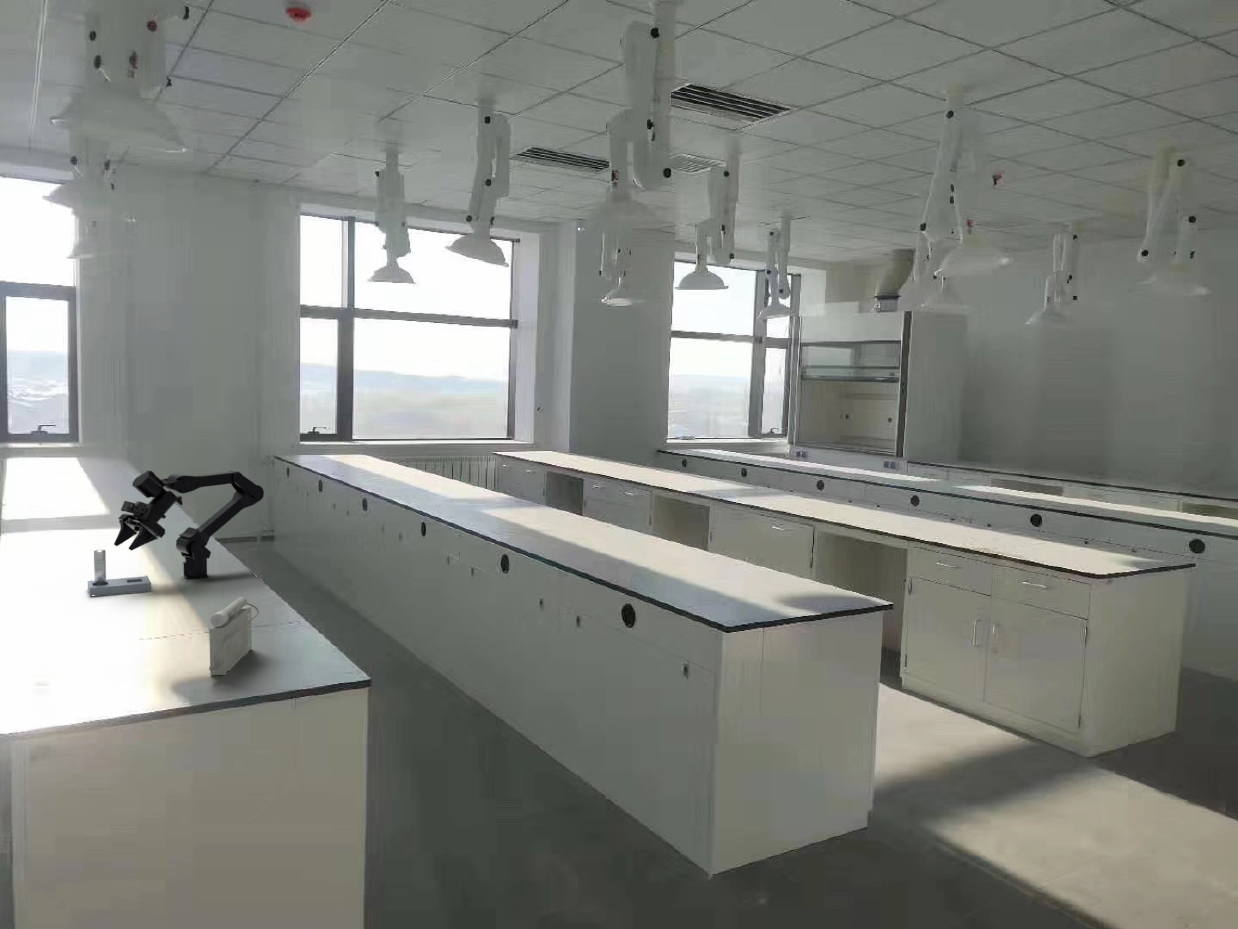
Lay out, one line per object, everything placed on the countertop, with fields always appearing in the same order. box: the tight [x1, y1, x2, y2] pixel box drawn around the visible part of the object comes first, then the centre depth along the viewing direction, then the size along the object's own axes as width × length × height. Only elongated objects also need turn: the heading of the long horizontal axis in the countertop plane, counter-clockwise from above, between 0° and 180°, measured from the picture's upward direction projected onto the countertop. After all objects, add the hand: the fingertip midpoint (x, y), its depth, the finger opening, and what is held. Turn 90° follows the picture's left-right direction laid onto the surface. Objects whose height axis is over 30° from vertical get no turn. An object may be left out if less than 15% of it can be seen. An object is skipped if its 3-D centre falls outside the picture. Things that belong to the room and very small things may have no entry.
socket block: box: [87, 575, 152, 597], centre depth 273 cm, size 16×10×2 cm, turn 123°
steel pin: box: [93, 549, 107, 586], centre depth 270 cm, size 3×3×12 cm
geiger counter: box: [208, 596, 260, 675], centre depth 209 cm, size 14×6×25 cm
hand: (122, 547), depth 274 cm, fingers open, 9 cm apart
